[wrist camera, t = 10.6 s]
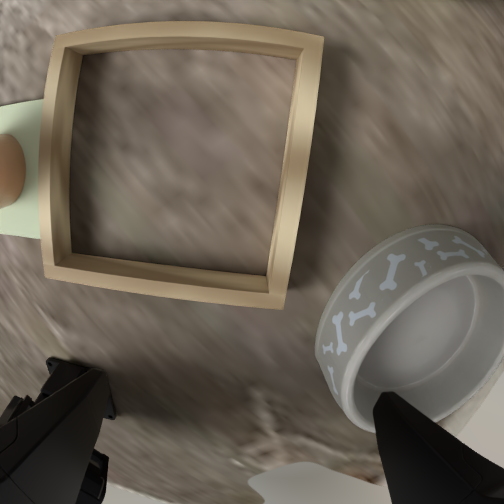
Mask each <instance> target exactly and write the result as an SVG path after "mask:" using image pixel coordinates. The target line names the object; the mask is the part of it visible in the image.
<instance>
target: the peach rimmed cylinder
mask: <svg viewBox="0 0 504 504" xmlns="http://www.w3.org/2000/svg"><path fill="white" fill-rule="evenodd" d="M25 175H26V163H25V157H24V153H23V150H22V147H21V145H20V144H19V142H18V141H17V139H16V138H15V137H13V136H12V135H9V134H0V209H2V208H4V207H7V206H9V205H11V204H13V203H14V202H15V201H16V200H17V199H18V197H19V196H20V194H21V192H22V189H23V186H24V182H25Z"/></svg>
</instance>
